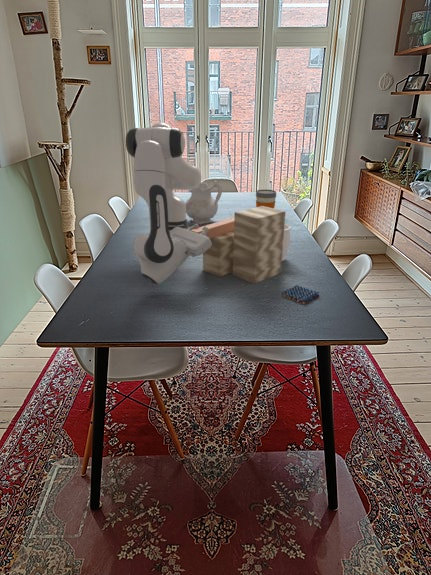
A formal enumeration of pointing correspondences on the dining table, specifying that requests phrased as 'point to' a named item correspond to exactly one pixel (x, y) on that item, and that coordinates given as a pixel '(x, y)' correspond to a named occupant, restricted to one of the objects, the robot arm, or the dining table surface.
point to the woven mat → (300, 294)
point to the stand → (258, 243)
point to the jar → (286, 241)
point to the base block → (220, 255)
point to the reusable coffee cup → (265, 198)
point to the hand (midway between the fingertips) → (202, 226)
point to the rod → (217, 228)
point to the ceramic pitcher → (203, 203)
